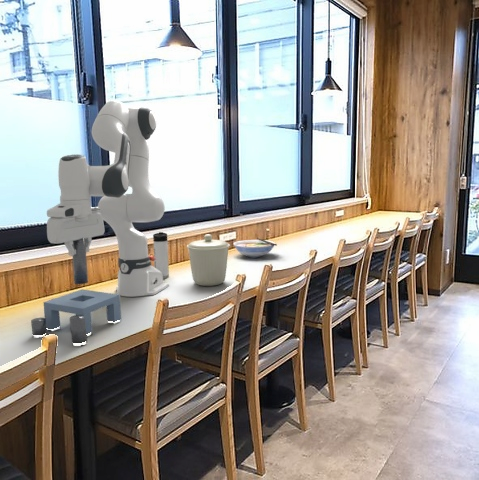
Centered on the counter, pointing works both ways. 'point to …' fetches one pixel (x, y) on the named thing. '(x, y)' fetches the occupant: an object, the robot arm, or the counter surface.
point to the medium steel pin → (78, 328)
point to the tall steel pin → (80, 262)
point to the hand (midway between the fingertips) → (79, 253)
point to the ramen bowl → (254, 247)
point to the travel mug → (161, 253)
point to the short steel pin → (38, 326)
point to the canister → (208, 260)
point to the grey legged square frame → (82, 307)
